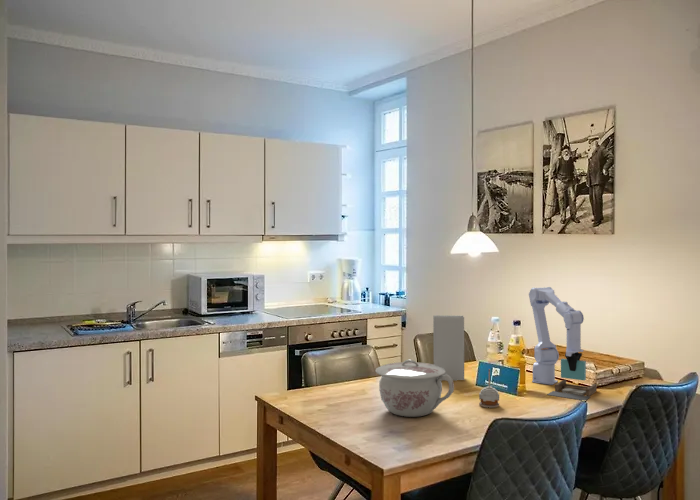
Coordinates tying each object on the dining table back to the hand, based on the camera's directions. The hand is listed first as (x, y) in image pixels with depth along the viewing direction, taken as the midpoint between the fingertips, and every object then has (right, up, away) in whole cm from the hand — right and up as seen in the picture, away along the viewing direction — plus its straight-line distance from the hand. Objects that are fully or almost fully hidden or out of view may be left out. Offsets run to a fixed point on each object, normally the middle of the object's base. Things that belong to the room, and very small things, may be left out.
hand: (573, 370), depth 270 cm
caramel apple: (-40, -11, -18) cm, 46 cm away
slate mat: (-4, -10, -5) cm, 12 cm away
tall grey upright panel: (-50, -10, +28) cm, 58 cm away
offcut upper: (+1, -10, +1) cm, 10 cm away
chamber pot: (-73, -12, -26) cm, 78 cm away
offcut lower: (+1, -11, +1) cm, 11 cm away
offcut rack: (+3, -10, +4) cm, 11 cm away
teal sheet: (0, -4, 0) cm, 4 cm away
